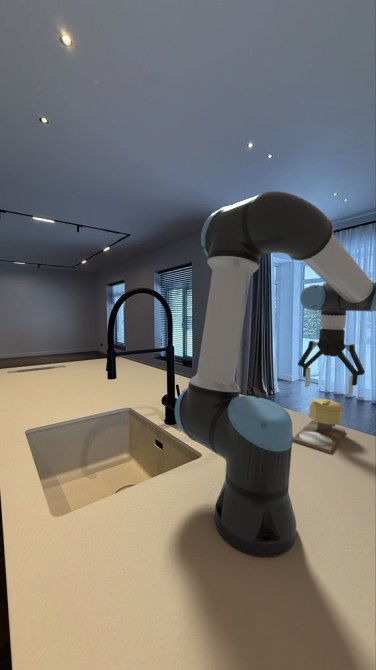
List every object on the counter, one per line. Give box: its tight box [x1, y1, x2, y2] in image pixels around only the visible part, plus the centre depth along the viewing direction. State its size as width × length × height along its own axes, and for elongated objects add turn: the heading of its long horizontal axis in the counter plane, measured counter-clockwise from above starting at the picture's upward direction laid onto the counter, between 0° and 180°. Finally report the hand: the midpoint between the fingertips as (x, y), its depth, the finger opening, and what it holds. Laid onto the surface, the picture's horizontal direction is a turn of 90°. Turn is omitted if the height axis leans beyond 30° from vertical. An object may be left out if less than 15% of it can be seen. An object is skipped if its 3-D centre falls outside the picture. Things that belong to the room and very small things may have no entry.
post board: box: [293, 420, 346, 454], centre depth 93 cm, size 20×11×9 cm, turn 140°
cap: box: [308, 398, 344, 426], centre depth 96 cm, size 9×9×6 cm
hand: (327, 390), depth 96 cm, fingers open, 13 cm apart
